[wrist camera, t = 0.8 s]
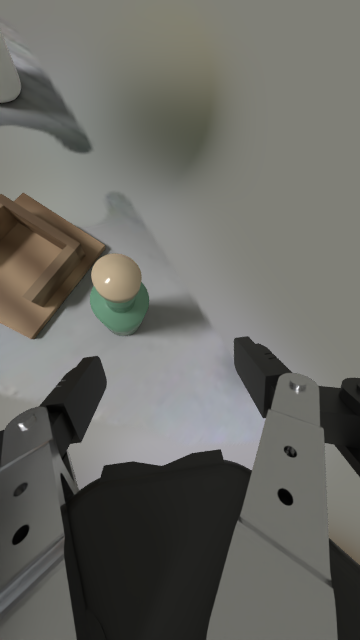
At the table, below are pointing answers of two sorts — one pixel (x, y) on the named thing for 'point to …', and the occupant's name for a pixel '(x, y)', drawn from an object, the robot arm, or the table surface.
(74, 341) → the table surface
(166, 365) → the table surface
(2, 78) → the potion bottle
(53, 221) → the bottle rest
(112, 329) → the bottle
